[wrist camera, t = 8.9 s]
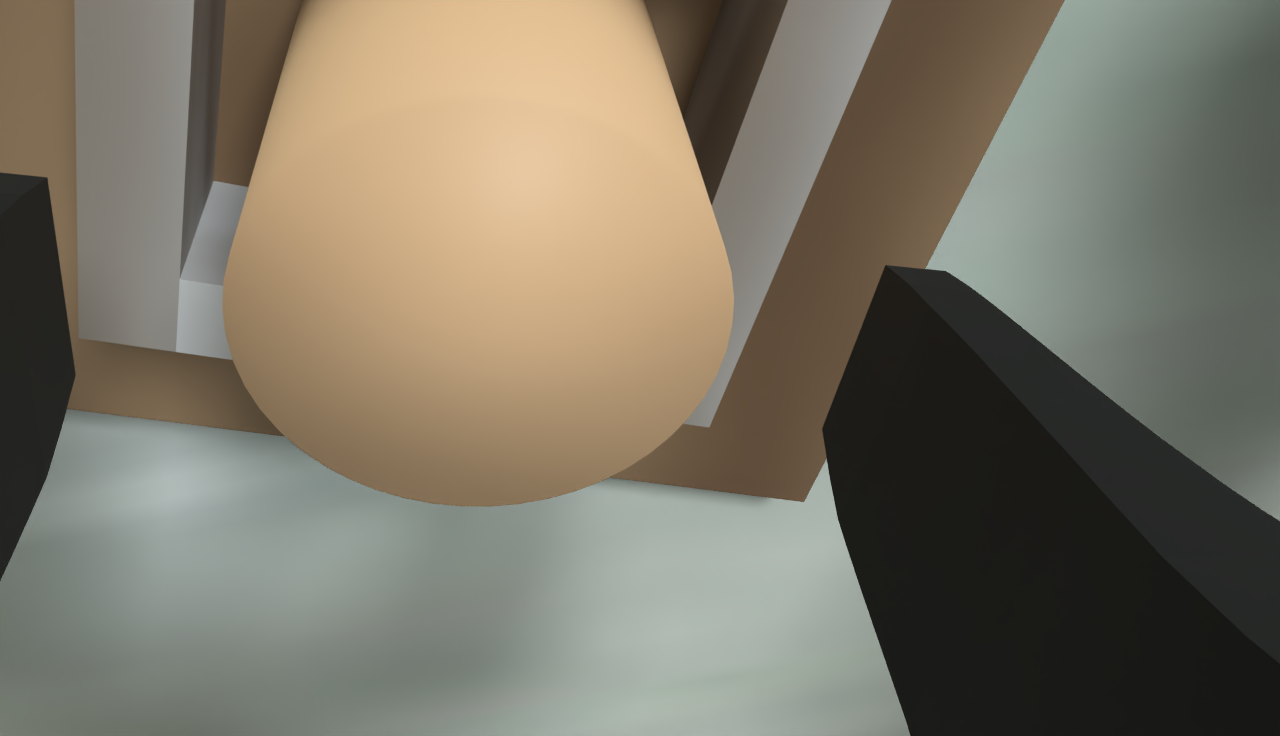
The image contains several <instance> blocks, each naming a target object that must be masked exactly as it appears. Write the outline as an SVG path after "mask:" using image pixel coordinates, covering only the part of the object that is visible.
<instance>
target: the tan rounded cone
mask: <svg viewBox="0 0 1280 736" xmlns="http://www.w3.org/2000/svg"><path fill="white" fill-rule="evenodd" d="M733 308H734V293H733V282H732V272H731V268H730V265H729V261H728V257H727V253H726V249H725V246H724V243H723V240H722V236H721V233H720V230H719V227H718V224H717V221H716V218H715V215H714V212H713V209H712V206H711V203H710V200H709V197H708V194H707V191H706V188H705V184H704V181H703V178H702V175H701V172H700V169H699V166H698V163H697V160H696V157H695V154H694V151H693V148H692V145H691V142H690V139H689V136H688V133H687V129H686V126H685V123H684V120H683V117H682V114H681V111H680V108H679V105H678V102H677V99H676V96H675V93H674V90H673V87H672V84H671V81H670V77H669V74H668V71H667V68H666V65H665V62H664V59H663V56H662V53H661V50H660V47H659V44H658V41H657V38H656V35H655V32H654V29H653V25H652V22H651V19H650V16H649V13H648V10H647V7H646V4H645V1H644V0H302V3H301V7H300V10H299V14H298V17H297V21H296V24H295V27H294V31H293V34H292V38H291V41H290V45H289V48H288V52H287V55H286V59H285V62H284V66H283V69H282V73H281V76H280V80H279V83H278V87H277V90H276V94H275V97H274V101H273V104H272V107H271V111H270V114H269V118H268V121H267V125H266V128H265V132H264V135H263V139H262V142H261V146H260V149H259V153H258V156H257V160H256V163H255V167H254V170H253V174H252V177H251V181H250V184H249V187H248V191H247V194H246V198H245V201H244V205H243V208H242V212H241V215H240V219H239V222H238V226H237V229H236V233H235V236H234V240H233V243H232V247H231V250H230V254H229V259H228V263H227V267H226V272H225V276H224V284H223V303H222V310H223V318H224V327H225V335H226V339H227V342H228V345H229V349H230V352H231V356H232V359H233V362H234V364H235V366H236V369H237V371H238V373H239V375H240V377H241V379H242V381H243V384H244V386H245V387H246V389H247V390H248V392H249V393H250V395H251V396H252V398H253V399H254V401H255V403H256V404H257V406H258V407H259V409H260V410H261V411H262V412H263V413H264V414H265V416H266V417H267V418H268V419H269V420H270V421H271V422H272V423H273V425H274V426H275V427H276V428H277V429H278V430H279V431H280V432H281V433H282V434H283V435H284V436H286V437H287V438H288V439H289V440H290V441H291V442H292V443H294V444H295V445H296V446H297V447H298V448H299V449H301V450H302V451H303V452H305V453H306V454H308V455H309V456H311V457H312V458H314V459H315V460H317V461H318V462H319V463H321V464H322V465H324V466H326V467H328V468H330V469H331V470H333V471H335V472H337V473H339V474H341V475H343V476H345V477H346V478H348V479H351V480H353V481H356V482H358V483H360V484H363V485H365V486H368V487H370V488H373V489H375V490H379V491H382V492H385V493H389V494H392V495H395V496H399V497H402V498H407V499H412V500H417V501H422V502H428V503H433V504H444V505H454V506H501V505H512V504H522V503H527V502H533V501H538V500H544V499H549V498H552V497H556V496H560V495H563V494H567V493H570V492H574V491H577V490H580V489H582V488H585V487H587V486H590V485H593V484H595V483H598V482H600V481H603V480H605V479H607V478H609V477H611V476H613V475H615V474H617V473H619V472H620V471H622V470H624V469H626V468H628V467H630V466H631V465H633V464H634V463H636V462H637V461H639V460H640V459H642V458H644V457H645V456H647V455H648V454H650V453H651V452H652V451H653V450H655V449H656V448H657V447H658V446H660V445H661V444H662V443H663V442H664V441H666V440H667V439H668V438H669V437H671V436H672V435H673V434H674V432H675V431H676V430H677V429H678V428H679V427H680V426H681V425H682V424H683V423H684V422H685V421H686V420H687V419H688V418H689V417H690V416H691V414H692V413H693V412H694V410H695V409H696V408H697V406H698V405H699V404H700V402H701V401H702V400H703V398H704V397H705V395H706V394H707V392H708V390H709V388H710V386H711V385H712V383H713V381H714V379H715V378H716V376H717V374H718V371H719V369H720V366H721V364H722V361H723V358H724V356H725V353H726V351H727V347H728V342H729V338H730V333H731V329H732V323H733Z"/></svg>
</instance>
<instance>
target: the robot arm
mask: <svg viewBox="0 0 1280 736" xmlns="http://www.w3.org/2000/svg"><path fill="white" fill-rule="evenodd" d="M75 376H76V373H75V366H74V359H73V352H72V345H71V338H70V331H69V324H68V318H67V311H66V304H65V297H64V290H63V283H62V276H61V269H60V262H59V255H58V248H57V241H56V234H55V227H54V220H53V213H52V206H51V199H50V192H49V185H48V178H47V177H39V176H29V175H20V174H10V173H1V172H0V580H1V578H2V576H3V574H4V572H5V569H6V567H7V565H8V563H9V561H10V559H11V556H12V554H13V552H14V550H15V547H16V545H17V543H18V541H19V539H20V536H21V534H22V532H23V530H24V527H25V525H26V523H27V521H28V518H29V516H30V514H31V512H32V510H33V507H34V505H35V503H36V501H37V498H38V496H39V494H40V491H41V489H42V487H43V484H44V482H45V480H46V478H47V475H48V471H49V468H50V465H51V461H52V458H53V455H54V451H55V448H56V445H57V441H58V438H59V435H60V431H61V428H62V424H63V420H64V417H65V413H66V409H67V406H68V402H69V398H70V395H71V391H72V387H73V384H74V380H75ZM822 432H823V438H824V444H825V451H826V457H827V463H828V469H829V475H830V481H831V486H832V491H833V496H834V501H835V506H836V511H837V516H838V520H839V523H840V527H841V530H842V533H843V536H844V539H845V543H846V546H847V549H848V552H849V555H850V558H851V561H852V564H853V567H854V570H855V573H856V576H857V579H858V582H859V585H860V588H861V591H862V594H863V597H864V600H865V603H866V605H867V608H868V611H869V614H870V617H871V620H872V623H873V626H874V629H875V632H876V635H877V637H878V640H879V643H880V646H881V649H882V652H883V655H884V658H885V661H886V664H887V667H888V670H889V672H890V675H891V678H892V681H893V684H894V687H895V690H896V693H897V696H898V699H899V702H900V705H901V707H902V710H903V713H904V716H905V719H906V722H907V725H908V729H909V732H910V735H911V736H1280V521H1278V520H1277V519H1275V518H1274V517H1272V516H1271V515H1269V514H1267V513H1266V512H1264V511H1263V510H1261V509H1260V508H1258V507H1257V506H1255V505H1254V504H1252V503H1251V502H1249V501H1248V500H1246V499H1245V498H1243V497H1242V496H1240V495H1239V494H1237V493H1236V492H1235V491H1233V490H1232V489H1230V488H1229V487H1227V486H1226V485H1224V484H1223V483H1222V482H1220V481H1219V480H1217V479H1216V478H1215V477H1213V476H1212V475H1211V474H1209V473H1208V472H1206V471H1205V470H1204V469H1202V468H1201V467H1200V466H1198V465H1197V464H1195V463H1194V462H1193V461H1191V460H1190V459H1189V458H1187V457H1186V456H1184V455H1183V454H1182V453H1180V452H1179V451H1178V450H1176V449H1175V448H1173V447H1172V446H1171V445H1169V444H1168V443H1167V442H1165V441H1164V440H1163V439H1161V438H1160V437H1159V436H1157V435H1156V434H1155V433H1153V432H1152V431H1151V430H1149V429H1148V428H1147V427H1146V426H1144V425H1143V424H1142V423H1140V422H1139V421H1138V420H1136V419H1135V418H1134V417H1133V416H1131V415H1130V414H1129V413H1127V412H1126V411H1125V410H1124V409H1122V408H1121V407H1120V406H1118V405H1117V404H1116V403H1115V402H1113V401H1112V400H1111V399H1110V398H1108V397H1107V396H1106V395H1105V394H1103V393H1102V392H1101V391H1100V390H1098V389H1097V388H1096V387H1095V386H1093V385H1092V384H1091V383H1090V382H1088V381H1087V380H1086V379H1085V378H1083V377H1082V376H1081V375H1080V374H1078V373H1077V372H1076V371H1075V370H1074V369H1072V368H1071V367H1070V366H1069V365H1067V364H1066V363H1065V362H1064V361H1062V360H1061V359H1060V358H1059V357H1058V356H1056V355H1055V354H1054V353H1053V352H1051V351H1050V350H1049V349H1048V348H1046V347H1045V346H1044V345H1043V344H1042V343H1040V342H1039V341H1038V340H1037V339H1035V338H1034V337H1033V336H1032V335H1031V334H1029V333H1028V332H1027V331H1026V330H1024V329H1023V328H1022V327H1021V326H1019V325H1018V324H1017V323H1016V322H1014V321H1013V320H1012V319H1011V318H1010V317H1008V316H1007V315H1006V314H1004V313H1003V312H1002V311H1001V310H999V309H998V308H997V307H996V306H994V305H993V304H992V303H990V302H989V301H988V300H987V299H985V298H984V297H983V296H981V295H980V294H979V293H977V292H976V291H975V290H973V289H972V288H970V287H969V286H968V285H966V284H965V283H963V282H962V281H960V280H959V279H957V278H956V277H954V276H953V275H951V274H950V273H948V272H946V271H939V270H929V269H919V268H910V267H900V266H891V265H885V267H884V270H883V272H882V275H881V278H880V280H879V283H878V285H877V288H876V290H875V293H874V296H873V298H872V301H871V303H870V306H869V309H868V311H867V314H866V316H865V319H864V321H863V324H862V327H861V329H860V332H859V334H858V337H857V340H856V342H855V345H854V347H853V350H852V352H851V355H850V358H849V360H848V363H847V365H846V368H845V370H844V373H843V376H842V378H841V381H840V383H839V386H838V389H837V391H836V394H835V396H834V399H833V401H832V404H831V407H830V409H829V412H828V414H827V417H826V420H825V422H824V425H823V427H822Z"/></svg>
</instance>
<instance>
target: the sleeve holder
mask: <svg viewBox="0 0 1280 736" xmlns="http://www.w3.org/2000/svg"><path fill="white" fill-rule="evenodd" d="M644 1H645V4H646V7H647V10H648V13H649V16H650V19H651V22H652V25H653V29H654V32H655V35H656V38H657V41H658V44H659V47H660V50H661V53H662V56H663V59H664V62H665V65H666V68H667V71H668V74H669V77H670V81H671V84H672V87H673V90H674V93H675V96H676V99H677V102H678V105H679V108H680V111H681V114H682V117H683V120H684V123H685V126H686V129H687V133H688V136H689V139H690V142H691V145H692V148H693V151H694V154H695V157H696V160H697V163H698V166H699V169H700V172H701V175H702V178H703V181H704V184H705V188H706V191H707V194H708V197H709V200H710V203H711V206H712V209H713V212H714V215H715V218H716V221H717V224H718V227H719V230H720V233H721V236H722V240H723V243H724V246H725V249H726V253H727V257H728V261H729V265H730V268H731V272H732V282H733V293H734V308H733V323H732V329H731V333H730V338H729V342H728V347H727V351H726V353H725V356H724V358H723V361H722V364H721V366H720V369H719V371H718V374H717V376H716V378H715V379H714V381H713V383H712V385H711V386H710V388H709V390H708V392H707V394H706V395H705V397H704V398H703V400H702V401H701V402H700V404H699V405H698V406H697V408H696V409H695V410H694V412H693V413H692V414H691V416H690V417H689V418H688V419H687V420H686V421H685V422H684V423H683V424H682V425H681V426H680V427H679V428H678V429H677V430H676V431H675V432H674V434H673V435H672V436H671V437H669V438H668V439H667V440H666V441H664V442H663V443H662V444H661V445H660V446H658V447H657V448H656V449H655V450H653V451H652V452H651V453H650V454H648V455H647V456H645V457H644V458H642V459H640V460H639V461H637V462H636V463H634V464H633V465H631V466H630V467H628V468H626V469H624V470H622V471H620V472H619V473H617V474H615V475H613V476H611V478H619V479H627V480H634V481H642V482H650V483H658V484H666V485H674V486H682V487H690V488H698V489H706V490H714V491H722V492H729V493H737V494H745V495H753V496H761V497H769V498H777V499H785V500H793V501H801V502H804V501H805V499H806V497H807V495H808V493H809V491H810V489H811V487H812V485H813V483H814V481H815V480H816V478H817V476H818V474H819V472H820V470H821V468H822V466H823V464H824V462H825V460H826V458H827V457H826V451H825V444H824V438H823V432H822V427H823V425H824V422H825V420H826V417H827V414H828V412H829V409H830V407H831V404H832V401H833V399H834V396H835V394H836V391H837V389H838V386H839V383H840V381H841V378H842V376H843V373H844V370H845V368H846V365H847V363H848V360H849V358H850V355H851V352H852V350H853V347H854V345H855V342H856V340H857V337H858V334H859V332H860V329H861V327H862V324H863V321H864V319H865V316H866V314H867V311H868V309H869V306H870V303H871V301H872V298H873V296H874V293H875V290H876V288H877V285H878V283H879V280H880V278H881V275H882V272H883V270H884V267H885V265H891V266H900V267H910V268H919V269H925V268H926V266H927V264H928V262H929V260H930V258H931V256H932V254H933V253H934V251H935V249H936V247H937V245H938V243H939V241H940V239H941V237H942V235H943V233H944V231H945V229H946V228H947V226H948V224H949V222H950V220H951V218H952V216H953V214H954V212H955V210H956V208H957V206H958V204H959V202H960V201H961V199H962V197H963V195H964V193H965V191H966V189H967V187H968V185H969V183H970V181H971V179H972V177H973V176H974V174H975V172H976V170H977V168H978V166H979V164H980V162H981V160H982V158H983V156H984V154H985V152H986V151H987V149H988V147H989V145H990V143H991V141H992V139H993V137H994V135H995V133H996V131H997V129H998V127H999V126H1000V124H1001V122H1002V120H1003V118H1004V116H1005V114H1006V112H1007V110H1008V108H1009V106H1010V104H1011V102H1012V101H1013V99H1014V97H1015V95H1016V93H1017V91H1018V89H1019V87H1020V85H1021V83H1022V81H1023V79H1024V77H1025V76H1026V74H1027V72H1028V70H1029V68H1030V66H1031V64H1032V62H1033V60H1034V58H1035V56H1036V54H1037V52H1038V50H1039V49H1040V47H1041V45H1042V43H1043V41H1044V39H1045V37H1046V35H1047V33H1048V31H1049V29H1050V27H1051V25H1052V24H1053V22H1054V20H1055V18H1056V16H1057V14H1058V12H1059V10H1060V8H1061V6H1062V4H1063V2H1064V0H644ZM301 3H302V0H0V172H1V173H10V174H20V175H29V176H39V177H47V178H48V185H49V192H50V199H51V206H52V213H53V220H54V227H55V234H56V241H57V248H58V255H59V262H60V269H61V276H62V283H63V290H64V297H65V304H66V311H67V318H68V324H69V331H70V338H71V345H72V352H73V359H74V366H75V373H76V376H75V380H74V384H73V387H72V391H71V395H70V398H69V402H68V406H67V409H73V410H80V411H88V412H96V413H104V414H112V415H120V416H128V417H136V418H144V419H152V420H160V421H167V422H175V423H183V424H191V425H199V426H207V427H215V428H223V429H231V430H239V431H247V432H255V433H262V434H270V435H278V436H284V435H283V434H282V433H281V432H280V431H279V430H278V429H277V428H276V427H275V426H274V425H273V423H272V422H271V421H270V420H269V419H268V418H267V417H266V416H265V414H264V413H263V412H262V411H261V410H260V409H259V407H258V406H257V404H256V403H255V401H254V399H253V398H252V396H251V395H250V393H249V392H248V390H247V389H246V387H245V386H244V384H243V381H242V379H241V377H240V375H239V373H238V371H237V369H236V366H235V364H234V362H233V359H232V356H231V352H230V349H229V345H228V342H227V339H226V335H225V327H224V318H223V310H222V303H223V284H224V276H225V272H226V267H227V263H228V259H229V254H230V250H231V247H232V243H233V240H234V236H235V233H236V229H237V226H238V222H239V219H240V215H241V212H242V208H243V205H244V201H245V198H246V194H247V191H248V187H249V184H250V181H251V177H252V174H253V170H254V167H255V163H256V160H257V156H258V153H259V149H260V146H261V142H262V139H263V135H264V132H265V128H266V125H267V121H268V118H269V114H270V111H271V107H272V104H273V101H274V97H275V94H276V90H277V87H278V83H279V80H280V76H281V73H282V69H283V66H284V62H285V59H286V55H287V52H288V48H289V45H290V41H291V38H292V34H293V31H294V27H295V24H296V21H297V17H298V14H299V10H300V7H301Z"/></svg>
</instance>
